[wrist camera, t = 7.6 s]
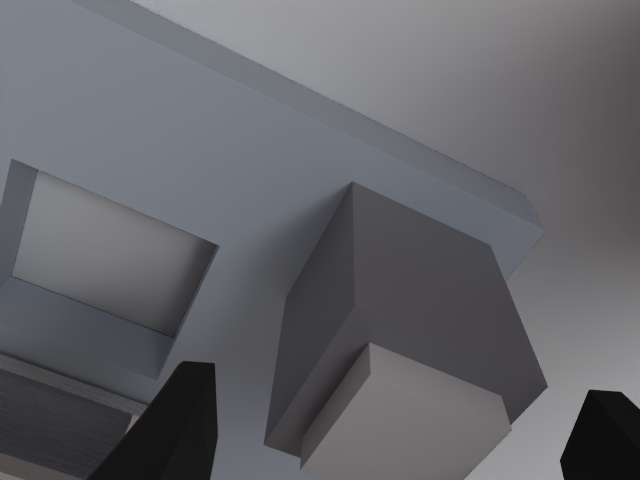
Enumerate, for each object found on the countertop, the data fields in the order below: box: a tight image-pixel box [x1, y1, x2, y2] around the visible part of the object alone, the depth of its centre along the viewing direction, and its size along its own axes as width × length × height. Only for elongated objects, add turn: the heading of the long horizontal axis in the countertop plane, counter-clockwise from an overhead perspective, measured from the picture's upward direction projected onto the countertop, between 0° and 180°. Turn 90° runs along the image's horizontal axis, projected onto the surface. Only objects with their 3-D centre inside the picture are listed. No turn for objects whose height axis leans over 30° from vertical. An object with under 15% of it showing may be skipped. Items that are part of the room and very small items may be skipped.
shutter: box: [0, 354, 148, 480], centre depth 18 cm, size 6×6×3 cm
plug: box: [264, 181, 548, 480], centre depth 13 cm, size 4×4×6 cm
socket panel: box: [0, 0, 546, 480], centre depth 18 cm, size 17×16×2 cm
